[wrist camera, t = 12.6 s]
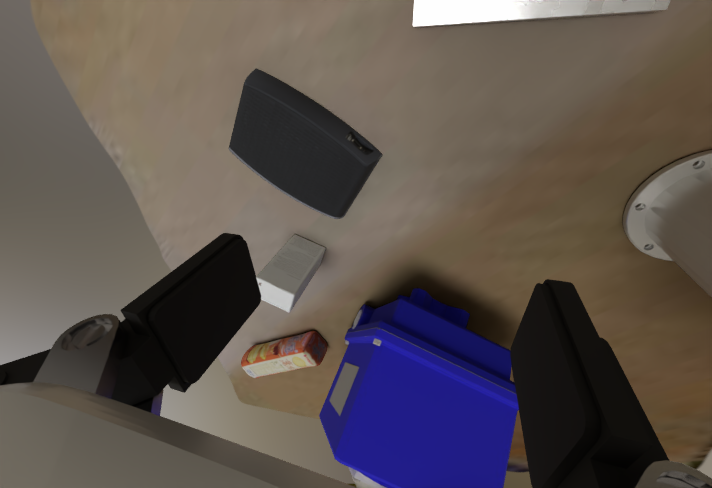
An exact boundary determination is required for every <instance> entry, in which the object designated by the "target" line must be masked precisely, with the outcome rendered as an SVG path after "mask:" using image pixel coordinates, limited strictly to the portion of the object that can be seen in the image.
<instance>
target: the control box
mask: <svg viewBox="0 0 712 488" xmlns="http://www.w3.org/2000/svg"><path fill="white" fill-rule="evenodd" d="M469 315H470V314H469V313H468V312H466V311H464V310H463V309H459V308H454V307H450V306H447V305H445V304H443V303H441V302H439V301H437V300H435V299H433V298H432V297H431V296H430V295H429V294H428V293H427V292H426V291H424V290H422V289H419V288H415V289H413V291H412V293H411V296H410V297H406V296H401V295H399V296H398V298H397V300H396V301H394V302H391V303H389V304H386V305H384V306H381V307H379V308H377V309H374V308H371V307H369V306H367V305H365V304H364V305H363V306H362V307H361V309H360V311H359V312H358V314H357V316H356V318H355V321H354V323H353V326H352V328H350V329H348V332H347V334H346V336H345V344H347V345H348V348H347V350H346V353H345V355H344V357H343V360H342V362H341V365H340V367H339V369H338V372H337V374H336V377H335V379H334V381H333V384H332V386H331V388H330V391H329V393H328V396H327V398H326V400H325V403H324V405H323V408H322V410H321V412H320V415H319V416H320V419H321V422H322V425H323V428H324V430H325V433H326V436H327V438H328V441H329V444H330V446H331V449H332V452H333V454H334V457H335V459H336V460H337V461H339V462H340V463H342V464H344V465H346V466H348V468H349V470H350V472H351V473H352V478H353V480H354V482H355V484H349V485H351V486H354V487H357V488H503V486H504V480H505V475H506V470H507V465H508V459H509V454H510V448H511V443H512V437H513V432H514V426H515V421H516V415H517V411H518V410H519V407H518V401H517V395H516V388H515V383H514V382H512V381H510V374H511V366H512V364H511V357H510V353H511V351H510V350H508V349H506V348H504V347H502V346H500V345H498V344H496V343H494V342H492V341H490V340H488V339H486V338H484V337H482V336H480V335H478V334H476V333H474V332H472V331H470V330H468V329H466V326H467V322H468V319H469Z"/></svg>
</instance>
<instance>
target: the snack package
mask: <svg viewBox="0 0 712 488" xmlns="http://www.w3.org/2000/svg"><path fill="white" fill-rule="evenodd" d="M326 352H327V343H326V341H325V340H324V339H323V338H322V337H321V336H320V334H319V333H317V332H316V331H310V332H307V333H305V334H301V335H297V336H293V337H288V338H283V339H279V340H276V341H272V342H268V343H264V344H260V345H254V346H252V347H251V348H250V349H249V350H248V351H247V352H246V353H245V354H244V356H243V358H242V361H241V365H242V367H243V369H244V370H245V372H246V373H247V374H248V375H249V376H251V377H253V378H258V377H261V376H267V375H272V374H276V373H281V372H286V371H292V370H296V369H301V368H305V367H312V366H318V365H320V363H321V362H322V360H323V358H324V356H325V354H326Z"/></svg>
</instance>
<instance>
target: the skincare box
mask: <svg viewBox="0 0 712 488" xmlns="http://www.w3.org/2000/svg"><path fill="white" fill-rule="evenodd" d="M325 249H326V248H325V247H323V246H320V245H318V244H316V243H314V242H311V241H309V240H307V239H305V238H302V237H300V236H298V235H296V234H294V235H293V236H292V237H291V239H290V240H289V241H288V242H287V243H286V244H285V245H284V246H283V248H282V249H281V250H280V251H279V252H278V253H277V254H276V255H275V256H274V257H273V259H272V260H271V261H270V262H269V263H268V264H267V265H266V266H265V268H264V269H263V270H262V271H261V272H260V273H259V274H258V275H257V276H256V279H257V282H258V286H259V290H260V293H261V300H263V301H265V302H268V303H270V304H272V305H274V306H276V307H278V308H280V309H283V310H285V311H287V312H290V311H291V310H292V308H293V307H294V305H295V304H296V302H297V301H298V299H299V297H300V296H301V294H302V293H303V291H304V290H305V288H306V286H307V285H308V283H309V282H310V280H311V279H312V277H313V276H314V274H315V272H316V271H317V269H318V268H319V266H320V264H321V261H322V258H323V255H324V252H325Z"/></svg>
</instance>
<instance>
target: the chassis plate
mask: <svg viewBox="0 0 712 488" xmlns="http://www.w3.org/2000/svg"><path fill="white" fill-rule="evenodd" d="M669 3H670V0H414V15H413V27H415V28H422V27H437V26H453V25H468V24H484V23H499V22H515V21H530V20H546V19H561V18H577V17H592V16H608V15H623V14H639V13H654V12H658V11H663V10H667V7H668V5H669Z"/></svg>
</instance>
